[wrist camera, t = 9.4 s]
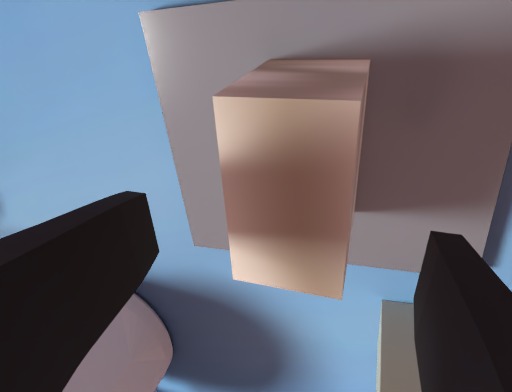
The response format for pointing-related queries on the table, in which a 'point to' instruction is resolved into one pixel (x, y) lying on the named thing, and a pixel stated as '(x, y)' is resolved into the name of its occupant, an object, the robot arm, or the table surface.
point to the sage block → (397, 349)
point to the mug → (126, 353)
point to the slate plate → (376, 110)
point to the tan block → (292, 170)
